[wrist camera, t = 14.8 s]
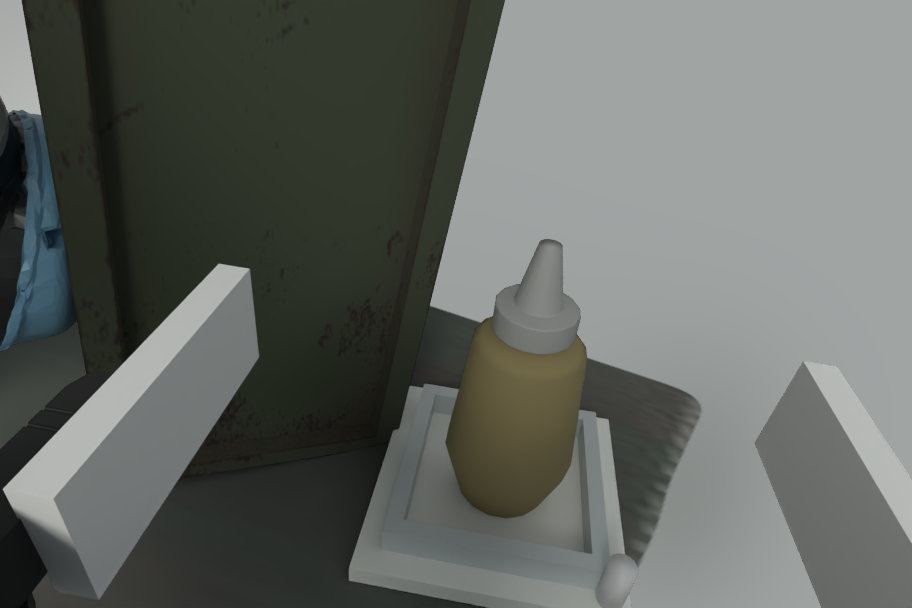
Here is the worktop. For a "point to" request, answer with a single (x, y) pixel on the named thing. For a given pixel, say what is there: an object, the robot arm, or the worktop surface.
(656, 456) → the worktop surface
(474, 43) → the first aid box
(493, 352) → the squeeze bottle
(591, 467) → the holder plate
